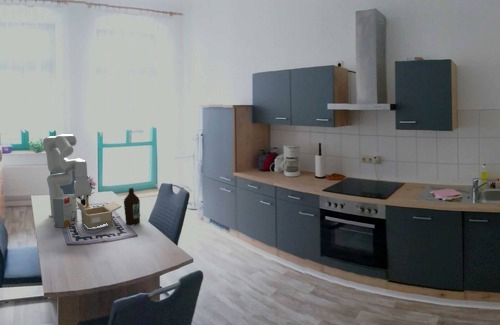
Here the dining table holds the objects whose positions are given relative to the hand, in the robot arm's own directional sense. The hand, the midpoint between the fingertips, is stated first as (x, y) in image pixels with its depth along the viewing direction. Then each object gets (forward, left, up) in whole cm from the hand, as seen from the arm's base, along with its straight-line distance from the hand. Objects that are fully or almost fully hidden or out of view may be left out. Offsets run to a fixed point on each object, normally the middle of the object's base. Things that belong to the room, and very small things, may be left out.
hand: (83, 205), depth 273 cm
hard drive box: (-14, -9, -15) cm, 22 cm away
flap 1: (0, -1, -1) cm, 2 cm away
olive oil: (+12, +29, -15) cm, 35 cm away
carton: (0, +8, -15) cm, 17 cm away
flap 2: (0, +19, -4) cm, 20 cm away
